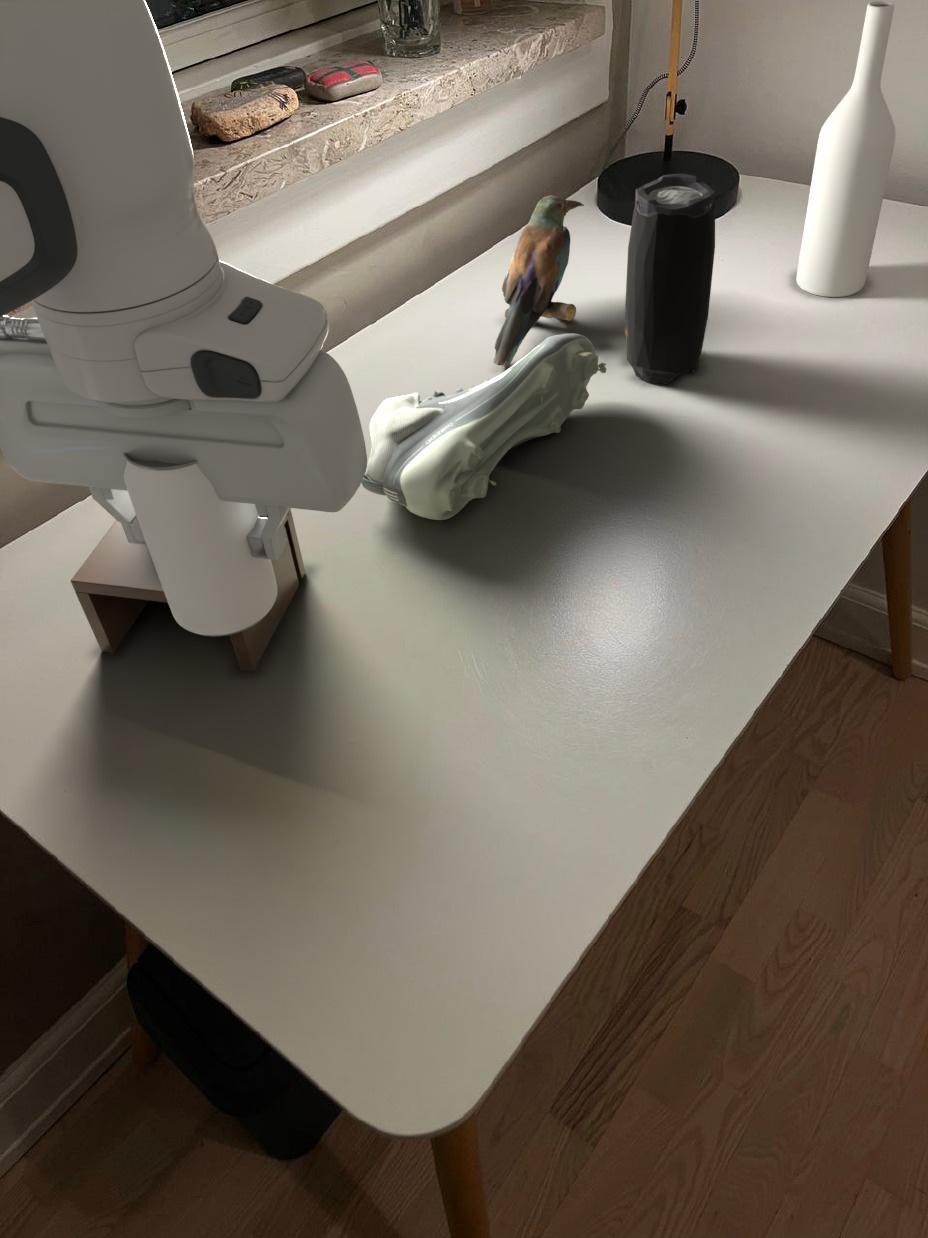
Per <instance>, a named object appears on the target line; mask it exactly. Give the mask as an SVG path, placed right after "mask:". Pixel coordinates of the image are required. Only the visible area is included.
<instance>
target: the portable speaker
mask: <svg viewBox="0 0 928 1238" xmlns="http://www.w3.org/2000/svg"><path fill="white" fill-rule="evenodd" d="M716 193H717V192H716V191H715V190H713V189H712V188H711V187H710V186H709V185H708V184H707V183H705V182H704V181H703V180H702V179H700V178H699V177H698V176H697V175H693V174H689V173H688V174H687V173H673V174H672V173H671V174H662V176H660V177H659V178H656V179H654V180H652V181H649V182H648V183H646V184H644V185H642V186H640V187H638V188H635V196H634V197H635V198H634V205H633V206H634V207H633V212H632V213H633V214H632V220H631V227H630V233H629V240H628V244H627V245H628V246H627V265H626V283H625V284H626V285H625V286H626V287H625V304H624V305H625V307H624V321H625V324H624V325H625V329H624V335H625V340H626V342H625V344H626V359H627V361H628V363H629V364H630V366H631V368H632V369H633V372H634V374H635V377H637V378H639V379H641V380H642V381H645V382H647V383H653V384H665V385H666V384H667V385H668V384H669V383H670V382H672V380H674V379H675V378H676V377H678V376H680V375H682V374H684V373H687V372H690V371H693V372H696V371H698V370H699V366H700V358H701V356H702V352H703V346H704V340H705V335H706V331H707V324H708V319H709V311H710V301H711V292H712V281H713V273H714V272H713V271H714V262H715V253H716Z"/></svg>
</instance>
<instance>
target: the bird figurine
mask: <svg viewBox="0 0 928 1238" xmlns="http://www.w3.org/2000/svg"><path fill="white" fill-rule="evenodd" d="M578 207H585V205H584V203H582V202H580V201H577V200H571V199H566V198H564V197H561V196H557V195H554V194H550V195H547V196H544V197H542V198H541V199H540V200H539V201H537V203H536V206H535V208H534V210H533V212H532V214H531V216H530V220H529V221H528V223H527V225H526V226H525V227H524V228H523V229H522V231H521V233H520V236H519V237H518V239H517V241H516V244H515V247H514V250H513V254H512V257H511V260H510V263H509V265H508V268H507V271H506V273H505V277H504V279H503V284H502V286H501V291H502V293H503V294H502V295H503V298H504V301H505V303H506V304H507V305H509V307H508V308H507V309H505V311H504V318H505V319H504V322H503V324H502V326H501V328H500V330H499V333H498V335H497V338H496V339H495V343H494V350H495V353H494V358H493V364H494V365H497V366H502V369H507V367H509V366H510V365H511V364H512V362H513V359H514V358H515V356H516V355H517V352H518V350H519V347H520V346H521V344H522V342H523V340H524V339H525V338H526V337H527V335H528V333H529V332H530V331H531V330H532V329H533V328H534V326H535V325H536V324H537V322H538V321H539V319H541V318H542V317H543V318H545V319H556V320H557V321H560V322H561V321H563V320H565V321H569V322H570V321H572V320H573V319H574V318H575V317H576V314H577V307H576V305H575V304H573V303H566V302H562V301H552V300H553V298H554V295H555V294H556V292H557V291H558V290H559V288H560V285H561V284H562V281H563V277H564V275H565V272H566V268H567V267H568V265H569V260H570V250H571V234H570V230H569V228H568V227H567V226H564V220H565V217H566V216H567V213H568V212H570V210H574V209H576V208H578Z"/></svg>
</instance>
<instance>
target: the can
mask: <svg viewBox="0 0 928 1238" xmlns="http://www.w3.org/2000/svg"><path fill="white" fill-rule="evenodd" d="M123 455H124V457H125V458H126V460H127V464H126V468H125V471H124V476H123V477H124V481H125V484H126V488H127V491H128V494H129V496H130V499H131V502H132V505H133V508H134V511H135V513H136V516H137V519H138V522H139V525H140V527H141V530H142V533H143V536H144V538H145V541H146V544H147V547H148V549H149V552H150V555H151V558H152V561H153V563H154V566H155V569H156V571H157V574H158V577H159V580H160V582H161V585H162V588H163V591H164V593H165V596H166V599H167V601H168V603H167V604H168V606H169V608H170V612H171V614H172V617H173V618H174V620H175V622H176V623H177V624H178V625H179V626H180V627H182V628H183V629H185V630H186V631H188V632H191V633H194V634H196V635H199V636H204V637H212V638H213V637H214V638H215V637H216V638H217V637H226V636H230V635H232V634H236V633H239V632H241V631H244V630H246V629H248V628H250V627H252V626H253V625H255V624H256V623H258V622H259V621H260V620H261V619H263V618H264V617H265V616H266V614H267V613H268V612H269V611H270V609H271V608H272V606H273V605H274V603H275V600H276V597H277V584H276V580H275V575H274V571H273V567H272V563H271V559H263V558H256V557H253V556H252V555H251V550H252V548H251V547H250V546H249V544H248V540H247V535H248V533H249V532H250V531H251V530H252V528H254V527H255V523H256V521H257V519H258V517H260V516H259V515H258V513H257V510H256V506H255V504H249V503H239V502H230V501H221V500H220V499H219V498H218V496H217V495H216V493H215V490H214V488H213V486H212V484H211V483H210V481H209V480H208V479H207V478H206V477H205V476H204V474H203V473H202V472H201V471H200V470H199V468H198V466H197V464H196V463H198V461H197V460H194V461H191V462H188V463H185V464H177V463H167V462H159V460H154V459H153V461H147V460H135V459H133V460H131V459H130V458H129V457H128V456H127V454H126V453H123Z"/></svg>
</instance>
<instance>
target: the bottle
mask: <svg viewBox="0 0 928 1238" xmlns="http://www.w3.org/2000/svg"><path fill="white" fill-rule="evenodd" d="M894 12H895V3H894V2H893V1H889V0H874V1H870V2H869V3H867V7H866V11H865V18H864V23H863V28H862V33H861V39H860V45H859V50H858V56H857V62H856V67H855V73H854V77H853V81H852V84H851V86H850V89H849V90H848V91H847V93H846V94H845V95H844V96H843V98H842V99H841V100H840V102H839V103H838V104H837V105H836V106H835V108H834V109H833V111H832V112H831V113H830V114H829V116H828V117H827V118H826V120H825V121H824V123H823V125H822V126H821V127H820V131H819V133H818V134H819V135H818V139H817V146H816V150H815V157H814V163H813V169H812V170H813V171H812V176H811V181H810V182H811V183H810V189H809V195H808V201H807V207H806V214H805V220H804V226H803V232H802V239H801V245H800V250H799V257H798V262H797V269H796V270H797V271H796V279H795V280H796V281H795V282H796V284H797V285H798V287H799V288H800V289H802V290H803V291H805V292H807V293H809V294H811V295H814V296H818V297H819V296H820V297H826V298H841V297H847V296H848V297H849V296H851V295H855V294H856V293H858V292H860V291H861V290H862V289H864V287H865V284H866V281H867V278H868V272H869V268H870V263H871V258H872V254H873V248H874V245H875V240H876V239H875V238H876V234H877V229H878V225H879V220H880V214H881V210H882V205H883V200H884V196H885V191H886V186H887V181H888V177H889V171H890V168H891V162H892V158H893V152H894V148H895V142H896V127H895V122H894V120H893V117H892V115H891V112H890V109H889V107H888V105H887V103H886V100H885V97H884V94H883V93H882V87H881V82H882V75H883V70H884V63H885V58H886V53H887V48H888V43H889V37H890V33H891V27H892V22H893V15H894Z"/></svg>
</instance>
